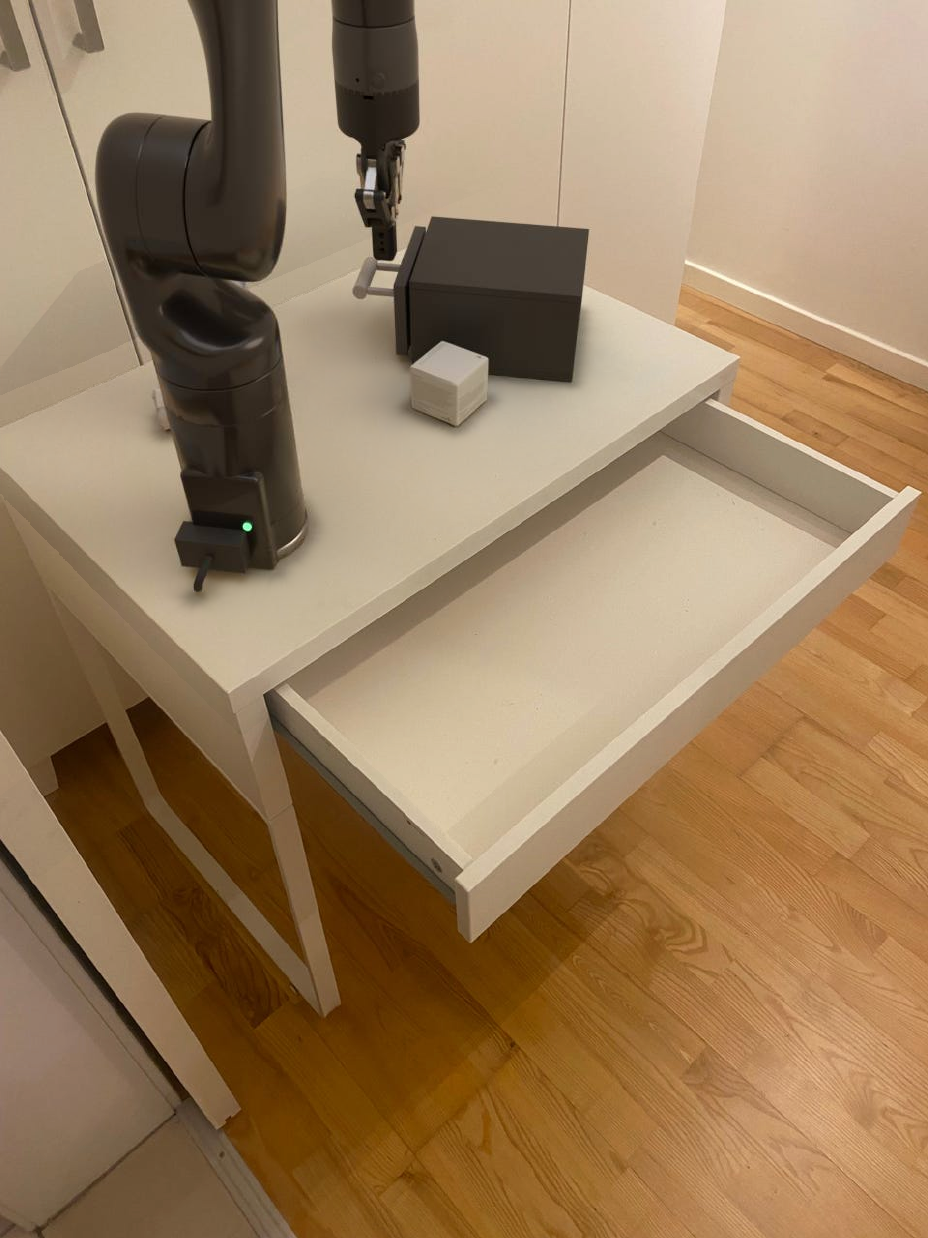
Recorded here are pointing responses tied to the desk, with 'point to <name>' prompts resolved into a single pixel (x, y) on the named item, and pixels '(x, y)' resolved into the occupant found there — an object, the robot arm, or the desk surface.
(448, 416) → the small box
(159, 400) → the smartwatch
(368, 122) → the robot arm
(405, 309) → the open dark drawer
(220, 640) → the desk surface
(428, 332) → the dark brown box
